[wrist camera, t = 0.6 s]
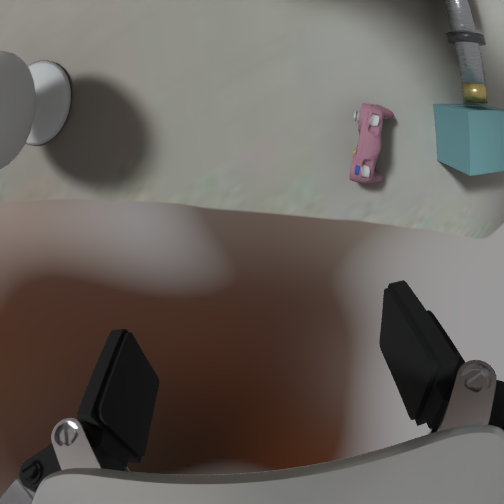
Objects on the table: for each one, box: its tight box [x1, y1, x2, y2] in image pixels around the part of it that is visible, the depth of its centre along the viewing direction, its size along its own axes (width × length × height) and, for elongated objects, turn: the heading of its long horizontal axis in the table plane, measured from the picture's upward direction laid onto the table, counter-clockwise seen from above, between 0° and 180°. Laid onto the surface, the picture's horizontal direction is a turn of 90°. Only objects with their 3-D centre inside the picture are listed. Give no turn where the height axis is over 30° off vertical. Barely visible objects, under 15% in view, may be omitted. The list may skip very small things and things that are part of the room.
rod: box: [444, 0, 487, 103], centre depth 22 cm, size 26×5×5 cm, turn 13°
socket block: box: [433, 104, 504, 176], centre depth 30 cm, size 8×9×8 cm
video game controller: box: [350, 103, 394, 183], centre depth 33 cm, size 10×5×7 cm, turn 175°
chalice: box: [0, 51, 71, 169], centre depth 24 cm, size 14×14×15 cm
